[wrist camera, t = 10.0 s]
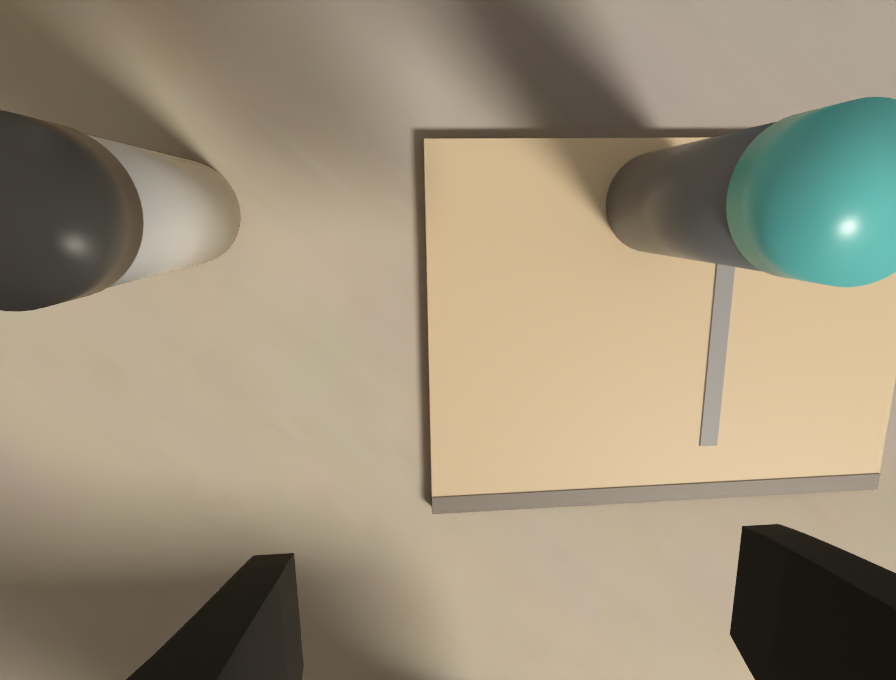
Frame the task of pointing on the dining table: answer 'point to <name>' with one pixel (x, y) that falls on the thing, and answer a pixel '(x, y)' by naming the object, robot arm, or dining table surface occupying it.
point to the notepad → (628, 348)
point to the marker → (772, 197)
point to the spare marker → (99, 213)
